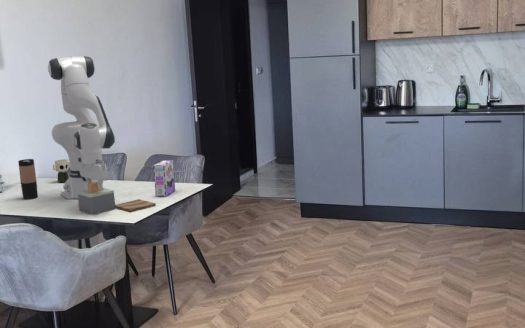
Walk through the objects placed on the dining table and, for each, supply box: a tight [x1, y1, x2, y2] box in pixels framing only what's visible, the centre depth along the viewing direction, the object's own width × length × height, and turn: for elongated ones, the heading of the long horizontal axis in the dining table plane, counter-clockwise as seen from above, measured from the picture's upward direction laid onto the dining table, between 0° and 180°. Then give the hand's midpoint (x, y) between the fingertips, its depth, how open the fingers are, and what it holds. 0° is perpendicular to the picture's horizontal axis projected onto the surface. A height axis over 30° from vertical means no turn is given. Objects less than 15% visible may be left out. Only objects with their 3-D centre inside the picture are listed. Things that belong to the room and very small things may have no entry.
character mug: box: [52, 158, 70, 183], centre depth 334 cm, size 11×7×13 cm, turn 137°
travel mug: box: [17, 158, 39, 200], centre depth 296 cm, size 8×8×20 cm
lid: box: [77, 182, 115, 198], centre depth 265 cm, size 12×12×6 cm
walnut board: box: [115, 198, 157, 213], centre depth 270 cm, size 14×14×1 cm
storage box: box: [77, 192, 116, 216], centre depth 266 cm, size 12×12×8 cm
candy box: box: [153, 160, 176, 198], centre depth 293 cm, size 14×6×16 cm, turn 168°
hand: (95, 188), depth 265 cm, fingers open, 7 cm apart
